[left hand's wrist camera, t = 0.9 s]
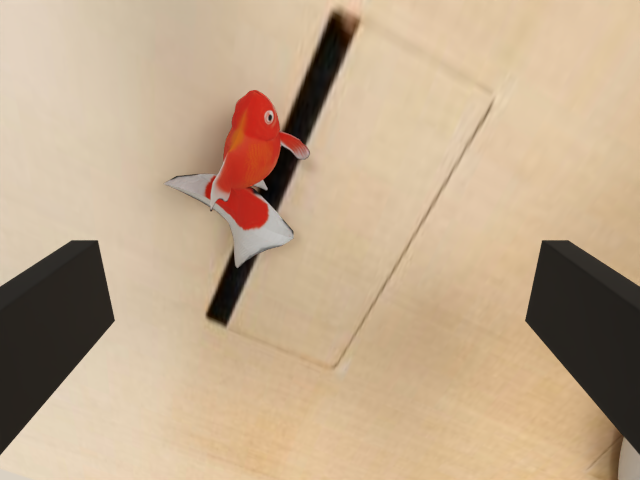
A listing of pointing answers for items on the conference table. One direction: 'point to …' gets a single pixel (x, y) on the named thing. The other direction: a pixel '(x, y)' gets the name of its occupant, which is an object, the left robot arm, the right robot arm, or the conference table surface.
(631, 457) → the projector
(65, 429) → the conference table surface
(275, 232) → the fish
